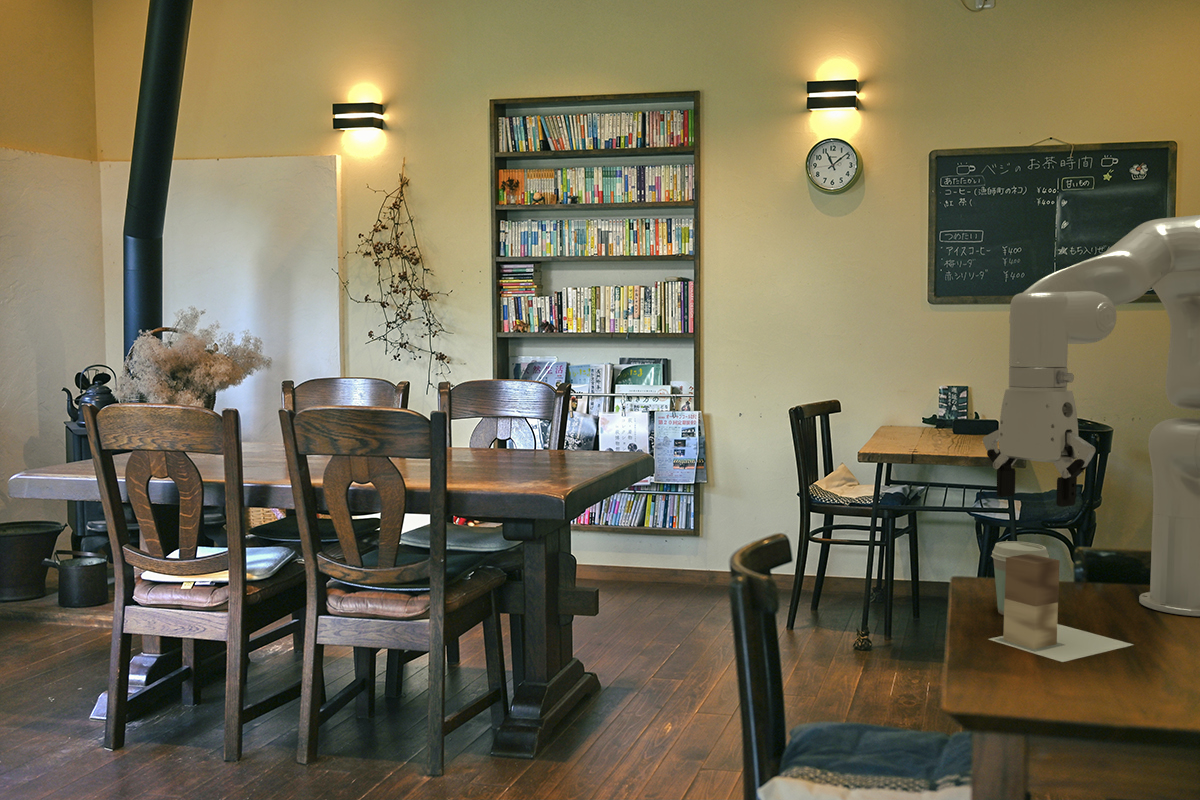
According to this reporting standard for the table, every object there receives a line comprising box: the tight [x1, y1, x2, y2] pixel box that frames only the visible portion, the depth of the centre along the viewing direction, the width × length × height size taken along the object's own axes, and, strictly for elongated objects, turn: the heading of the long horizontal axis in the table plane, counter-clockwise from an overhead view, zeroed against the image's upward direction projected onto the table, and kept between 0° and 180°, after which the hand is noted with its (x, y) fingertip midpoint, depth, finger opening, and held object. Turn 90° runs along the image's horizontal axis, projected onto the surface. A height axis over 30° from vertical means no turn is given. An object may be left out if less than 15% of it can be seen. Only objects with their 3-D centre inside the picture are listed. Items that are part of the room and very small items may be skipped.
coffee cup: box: [990, 540, 1050, 616], centre depth 158 cm, size 8×9×12 cm
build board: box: [988, 623, 1134, 663], centre depth 143 cm, size 16×12×1 cm
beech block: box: [1002, 599, 1059, 649], centre depth 143 cm, size 5×5×6 cm
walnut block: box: [1005, 554, 1061, 607], centre depth 142 cm, size 5×5×6 cm
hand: (1035, 500), depth 142 cm, fingers open, 9 cm apart
